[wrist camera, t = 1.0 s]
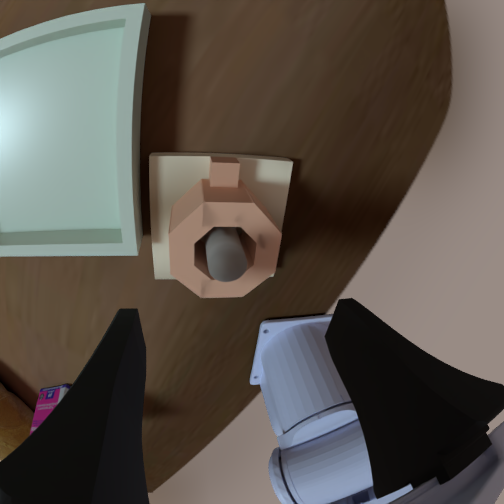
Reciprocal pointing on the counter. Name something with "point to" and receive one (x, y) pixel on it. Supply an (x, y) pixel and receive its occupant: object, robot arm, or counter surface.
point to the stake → (218, 238)
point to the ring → (221, 215)
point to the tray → (73, 134)
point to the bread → (13, 422)
